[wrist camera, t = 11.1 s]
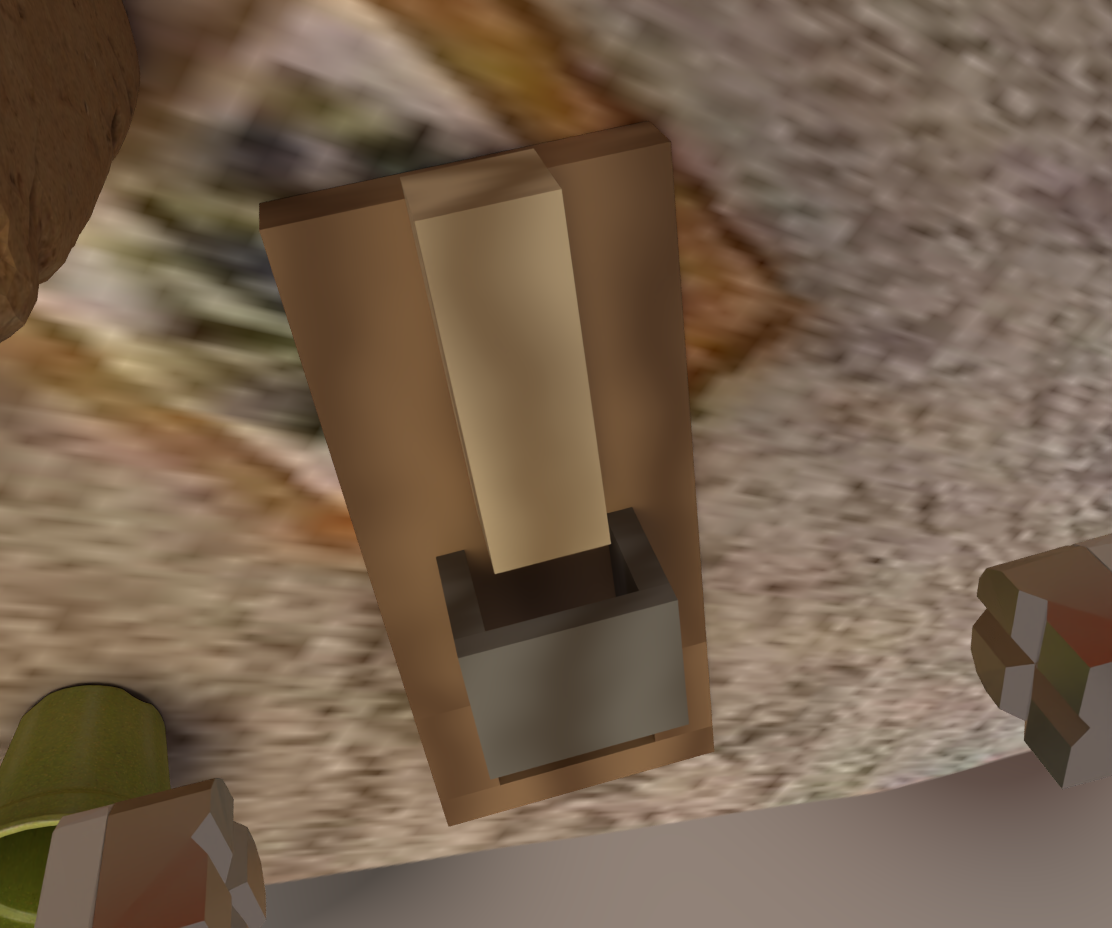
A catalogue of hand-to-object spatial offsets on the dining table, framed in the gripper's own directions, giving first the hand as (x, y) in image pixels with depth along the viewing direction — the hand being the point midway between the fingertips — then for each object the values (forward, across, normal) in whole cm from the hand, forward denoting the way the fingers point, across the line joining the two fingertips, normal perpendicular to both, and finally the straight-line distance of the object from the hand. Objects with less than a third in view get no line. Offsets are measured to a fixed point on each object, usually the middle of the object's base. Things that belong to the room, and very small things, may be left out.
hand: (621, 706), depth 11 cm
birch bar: (+27, -2, +10) cm, 29 cm away
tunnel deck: (+29, -2, +20) cm, 35 cm away
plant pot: (+29, +19, +26) cm, 44 cm away
